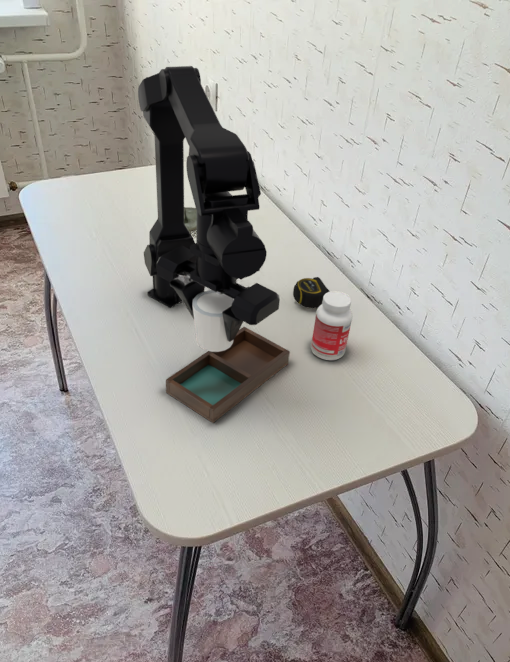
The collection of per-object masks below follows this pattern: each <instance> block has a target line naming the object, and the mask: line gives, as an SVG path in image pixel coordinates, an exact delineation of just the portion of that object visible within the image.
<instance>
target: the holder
mask: <svg viewBox="0 0 510 662" xmlns="http://www.w3.org/2000/svg"><path fill="white" fill-rule="evenodd" d="M290 351H291V350H289V349H287V348H284V347H283V346H281V345H280V344H277V343H275V342H274V341H271V340H270V339H269V338H266V337H265V336H263V335H261V334H259V333H257V332H255V331H254V330H252V329H250V328H247V327H246V326H243V327H240V329H239V331H238V333H237V335H236V337H235V338H234V340H233V344H232V345H231V347H230V348H228V349H226V350H224V351H220V352H211V351H207V350H206V352H204V353H202V354H201V355H200V356H198V357H197V358H195V359H194V360H193V361H191V362H190V363H187V365H185V366H184V367H182V368H181V369H179V370H178V371H176V372H175V373H173V374H171V375H170V376H169V377H167V378H166V379H165V393H166V394H167V395H169V396H171V397H172V398H174V399H175V400H177V401H178V402H180V403H181V404H183V405H184V406H186V407H188V408H189V409H190V410H192V411H194V413H197V414H198V415H199V416H201V417H203V418H205V419H206V420H208V421H209V422H210V423H212V424H214V423H215V422H217V420H219V419H220V418H222V417H223V416H224V415H225V414H226V413H228V412H229V411H231V410H232V409H233V408H235V406H237V405H239V403H241V402H242V401H244V399H245V398H247V397H248V396H249V395H251V394H252V393H253V392H254V391H256V390H257V389H258V388H260V387H261V386H262V385H263V384H265V383H266V382H267V381H268V380H269V379H271V378H273V377H274V375H276V374H278V373H279V372H280V371H281V370H282V369H283V368H285V367H286V366H288V365H289V359H290Z"/></svg>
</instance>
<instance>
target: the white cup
mask: <svg viewBox="0 0 510 662" xmlns="http://www.w3.org/2000/svg"><path fill="white" fill-rule="evenodd" d="M232 302H233V298H231V297H229V296H227V295H225V294H218V293H216V292H214V291H212V290H211V289H209V290H206V291H205V290H204V292H202V293H200V294H198V295H196V297H195V298H194V299H193V314H194V319H193V321H194V331H195V339H196V344H197V346H198V347H199V348H201V349H203V350H204V351H206V352H207V351H211V352H220V351H224V350H226V349H228V348H230V347H231V345H232V344H233V340H232V341H231V342H229V341H228V339H227V336H226V332H225V326H224V320H223V314H222V312H223V311H224V310H226V309H228V308H229V307H231V306H232Z"/></svg>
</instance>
